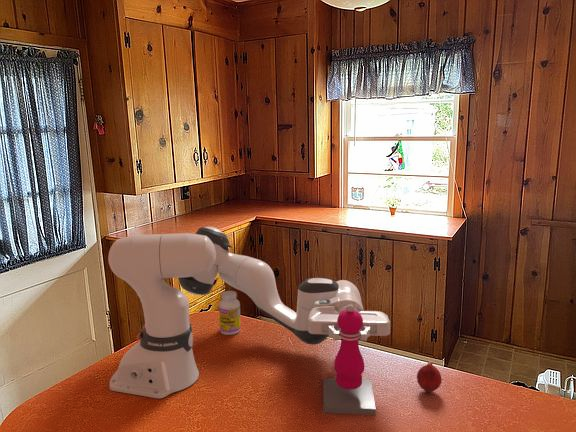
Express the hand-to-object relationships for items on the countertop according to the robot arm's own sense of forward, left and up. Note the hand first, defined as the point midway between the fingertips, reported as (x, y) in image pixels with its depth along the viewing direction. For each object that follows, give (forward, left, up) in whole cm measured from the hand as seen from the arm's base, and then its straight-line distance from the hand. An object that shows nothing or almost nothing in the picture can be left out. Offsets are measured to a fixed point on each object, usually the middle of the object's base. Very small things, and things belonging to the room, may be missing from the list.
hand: (350, 337), depth 107 cm
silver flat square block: (0, +1, -16) cm, 16 cm away
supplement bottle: (-36, +35, -16) cm, 53 cm away
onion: (+20, +5, -16) cm, 26 cm away
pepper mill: (0, +1, -12) cm, 12 cm away
